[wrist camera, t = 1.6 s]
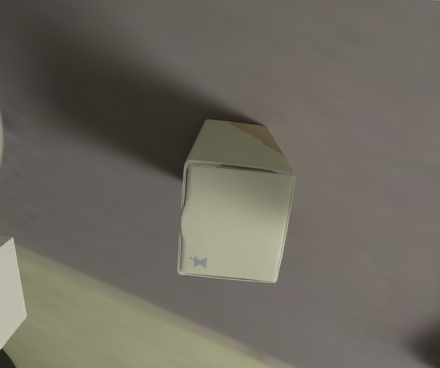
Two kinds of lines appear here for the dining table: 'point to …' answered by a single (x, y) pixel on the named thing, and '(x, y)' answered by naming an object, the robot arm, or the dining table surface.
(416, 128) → the dining table surface
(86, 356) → the dining table surface
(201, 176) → the box
